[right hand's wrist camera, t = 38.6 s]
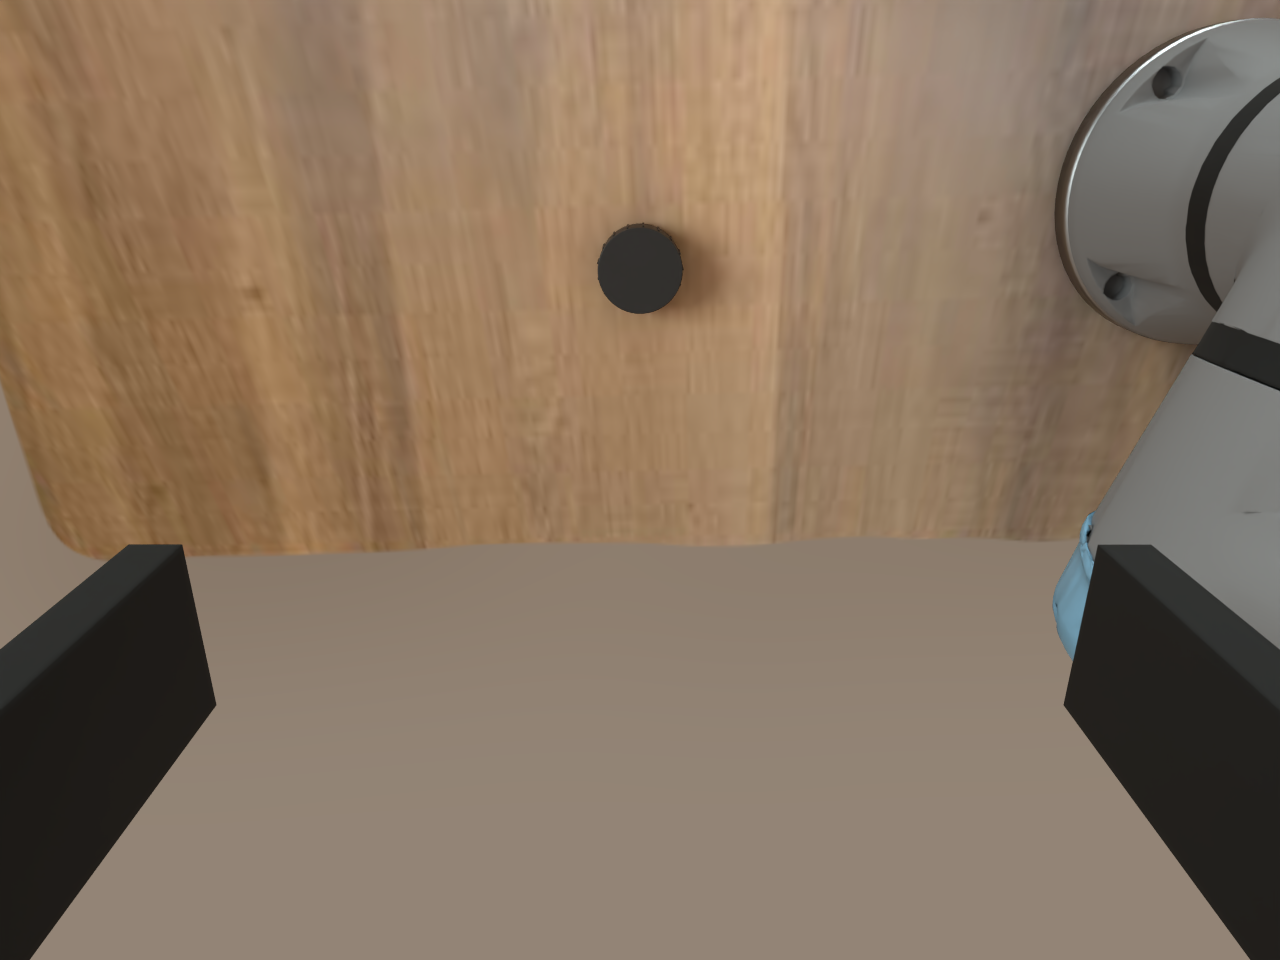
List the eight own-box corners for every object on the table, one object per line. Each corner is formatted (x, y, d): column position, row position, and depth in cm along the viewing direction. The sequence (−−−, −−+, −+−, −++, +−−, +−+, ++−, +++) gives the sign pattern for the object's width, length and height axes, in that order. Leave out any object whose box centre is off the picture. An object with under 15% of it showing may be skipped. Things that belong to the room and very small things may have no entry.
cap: (699, 261, 46) (701, 267, 45) (643, 324, 48) (644, 332, 46) (636, 204, 45) (636, 207, 43) (581, 269, 47) (579, 275, 45)
